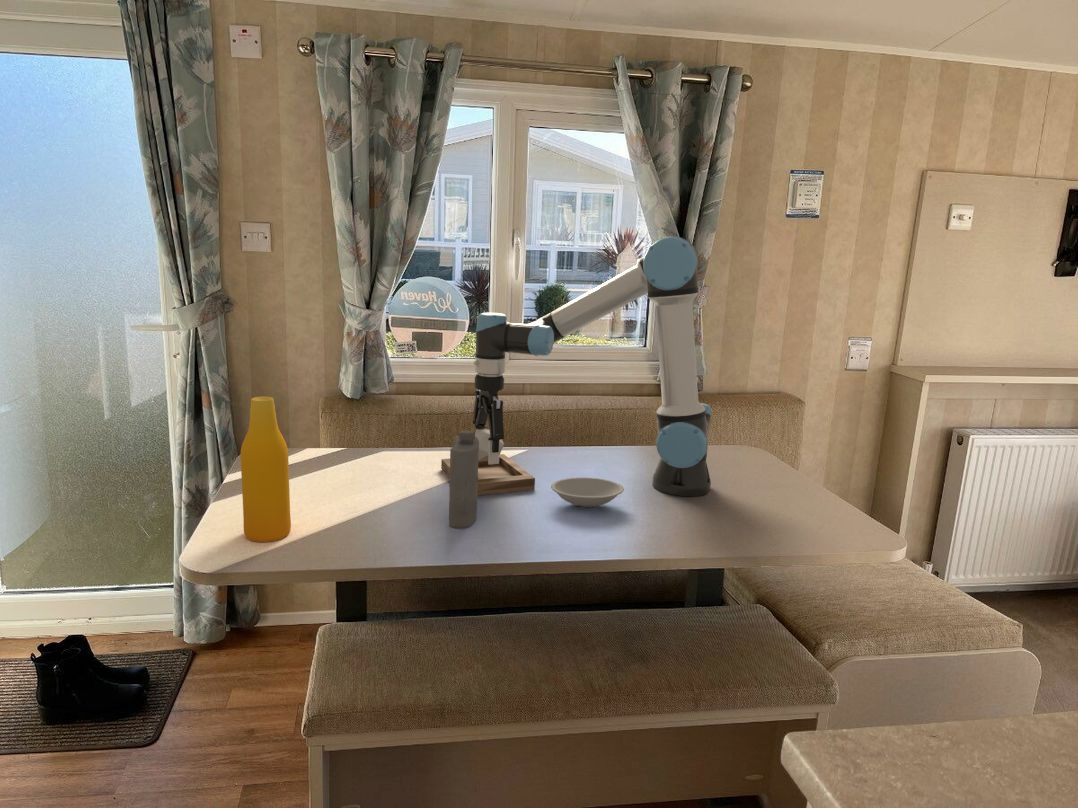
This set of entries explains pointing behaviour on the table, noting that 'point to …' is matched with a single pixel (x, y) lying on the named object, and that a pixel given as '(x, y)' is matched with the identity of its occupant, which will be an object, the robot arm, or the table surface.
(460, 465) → the flask
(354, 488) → the table surface
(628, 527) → the table surface
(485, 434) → the die
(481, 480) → the tray
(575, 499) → the dish
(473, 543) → the table surface
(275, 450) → the beer bottle
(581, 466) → the table surface
